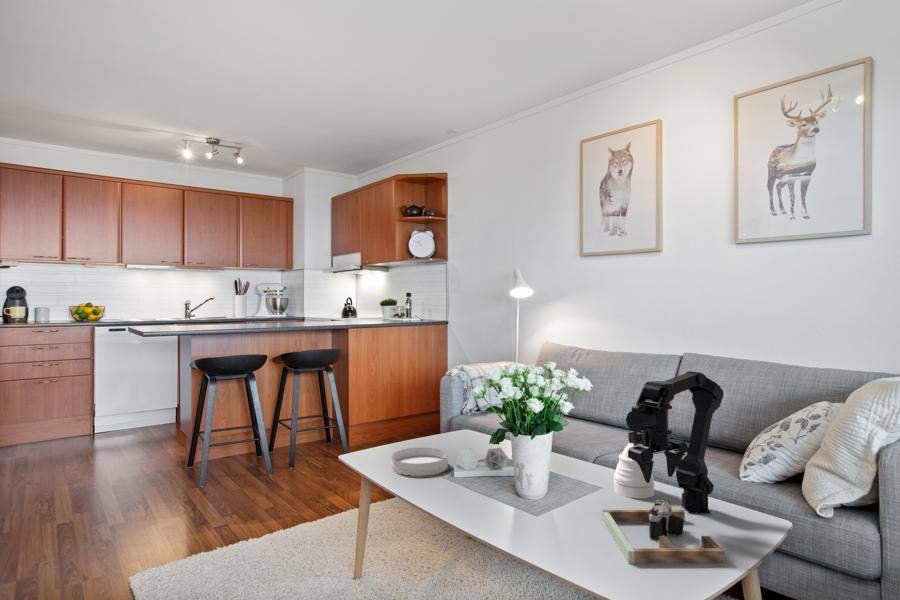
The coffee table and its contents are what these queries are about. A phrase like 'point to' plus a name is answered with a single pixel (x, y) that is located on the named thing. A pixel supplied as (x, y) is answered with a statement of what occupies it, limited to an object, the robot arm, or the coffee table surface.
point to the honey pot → (631, 478)
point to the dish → (419, 461)
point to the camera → (663, 521)
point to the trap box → (666, 550)
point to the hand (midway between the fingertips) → (658, 479)
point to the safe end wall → (618, 537)
